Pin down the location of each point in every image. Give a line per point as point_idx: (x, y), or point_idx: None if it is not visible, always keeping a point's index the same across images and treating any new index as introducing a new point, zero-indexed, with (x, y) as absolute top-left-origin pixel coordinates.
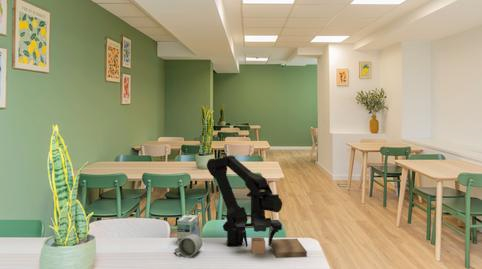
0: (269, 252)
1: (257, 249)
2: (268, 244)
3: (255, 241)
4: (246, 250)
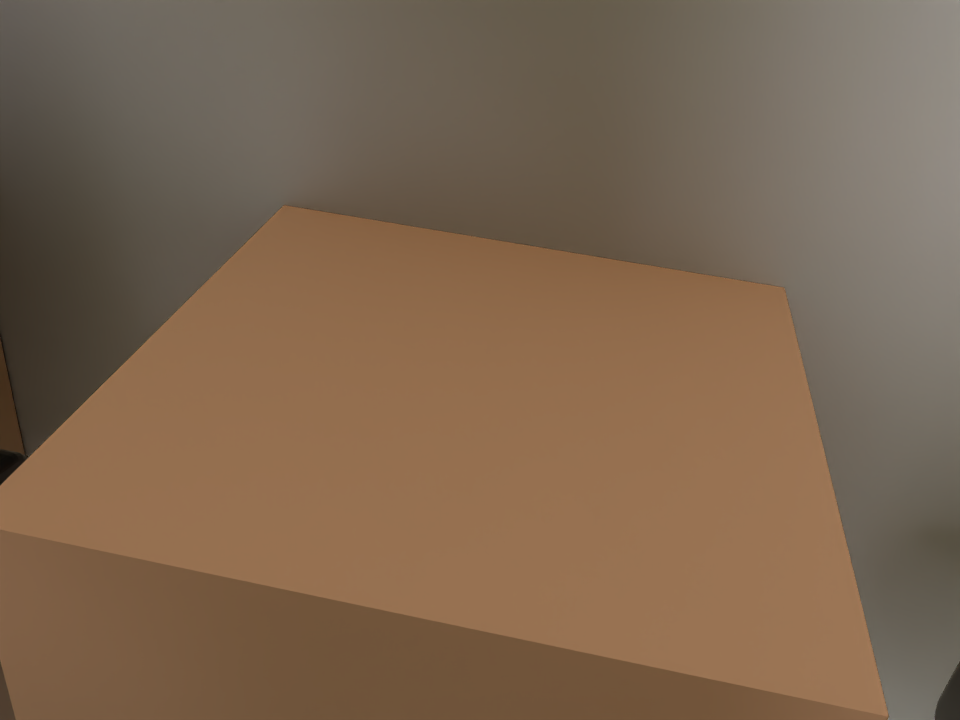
0: (119, 229)
1: (574, 329)
2: None
3: (666, 664)
4: (883, 613)
